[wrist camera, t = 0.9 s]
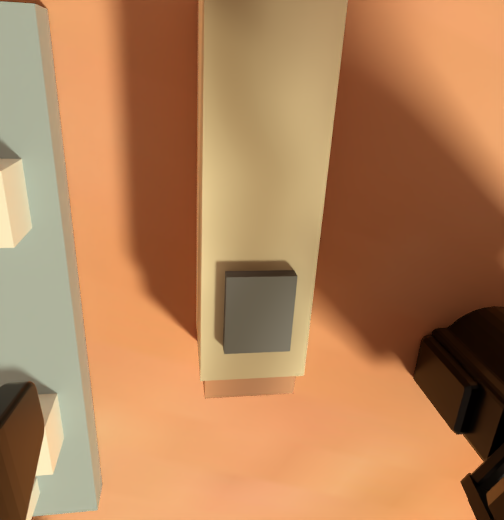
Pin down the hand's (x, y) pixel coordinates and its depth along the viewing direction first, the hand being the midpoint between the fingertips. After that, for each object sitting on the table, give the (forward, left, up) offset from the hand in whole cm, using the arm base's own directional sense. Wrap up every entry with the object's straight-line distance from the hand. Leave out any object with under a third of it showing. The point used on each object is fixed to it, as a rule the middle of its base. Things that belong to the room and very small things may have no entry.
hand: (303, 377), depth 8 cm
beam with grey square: (-1, -1, -12) cm, 12 cm away
